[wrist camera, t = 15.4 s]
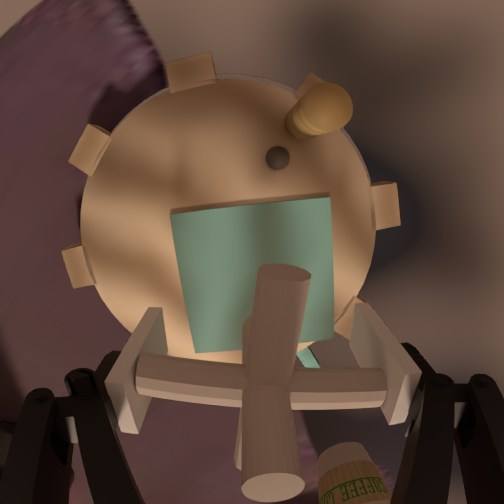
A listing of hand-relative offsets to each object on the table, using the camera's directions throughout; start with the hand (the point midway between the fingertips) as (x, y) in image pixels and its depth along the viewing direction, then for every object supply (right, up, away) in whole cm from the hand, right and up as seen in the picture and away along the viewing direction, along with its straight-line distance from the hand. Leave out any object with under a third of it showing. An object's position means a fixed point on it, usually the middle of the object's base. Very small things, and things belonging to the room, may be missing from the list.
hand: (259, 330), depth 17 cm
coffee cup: (+11, -22, +17) cm, 30 cm away
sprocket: (-2, +6, +8) cm, 10 cm away
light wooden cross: (0, 0, 0) cm, 0 cm away
